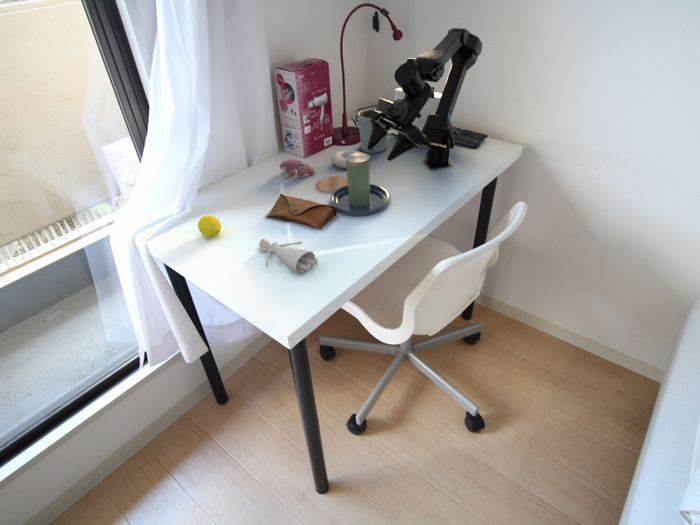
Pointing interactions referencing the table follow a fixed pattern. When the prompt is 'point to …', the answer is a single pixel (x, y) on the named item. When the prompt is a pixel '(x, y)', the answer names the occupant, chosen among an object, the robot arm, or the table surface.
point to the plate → (376, 205)
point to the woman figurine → (290, 255)
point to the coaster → (332, 183)
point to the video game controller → (296, 167)
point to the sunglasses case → (302, 212)
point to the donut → (342, 158)
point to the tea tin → (358, 179)
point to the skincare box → (426, 110)
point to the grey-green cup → (368, 132)
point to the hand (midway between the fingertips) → (378, 154)
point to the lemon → (209, 226)
